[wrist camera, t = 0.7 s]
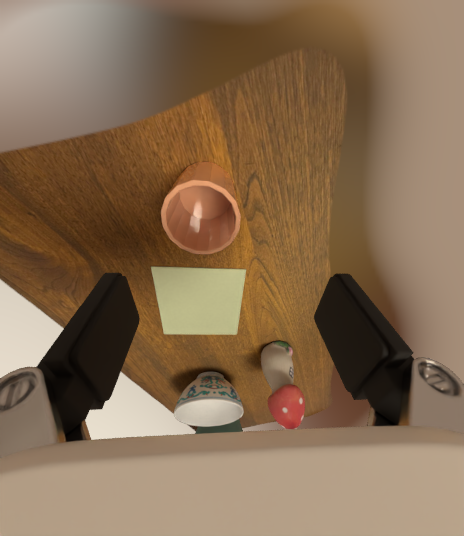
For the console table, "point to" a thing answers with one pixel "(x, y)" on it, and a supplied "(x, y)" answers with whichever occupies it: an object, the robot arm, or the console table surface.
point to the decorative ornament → (282, 385)
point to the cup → (202, 209)
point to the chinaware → (209, 402)
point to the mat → (199, 299)
